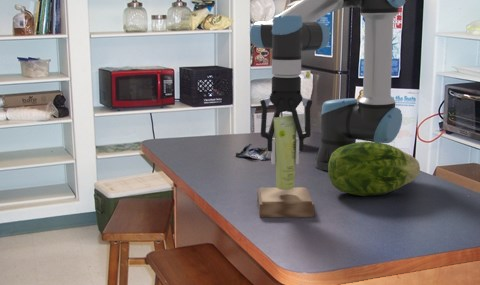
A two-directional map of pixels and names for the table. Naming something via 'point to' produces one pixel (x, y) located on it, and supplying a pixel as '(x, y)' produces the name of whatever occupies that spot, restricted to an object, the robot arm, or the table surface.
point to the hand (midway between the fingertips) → (284, 162)
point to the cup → (301, 119)
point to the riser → (285, 202)
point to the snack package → (254, 152)
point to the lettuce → (371, 168)
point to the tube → (285, 151)
